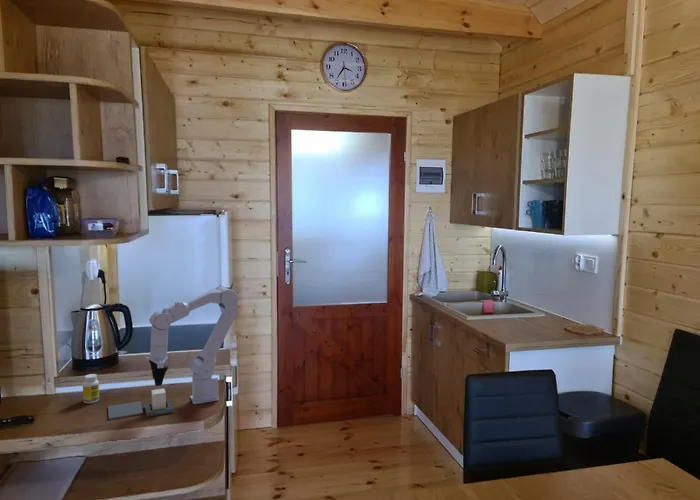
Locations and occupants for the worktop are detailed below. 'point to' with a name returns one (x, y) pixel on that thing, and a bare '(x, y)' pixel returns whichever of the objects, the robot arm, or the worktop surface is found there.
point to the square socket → (159, 411)
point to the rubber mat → (125, 410)
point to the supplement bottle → (90, 389)
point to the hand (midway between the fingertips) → (157, 381)
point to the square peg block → (158, 399)
